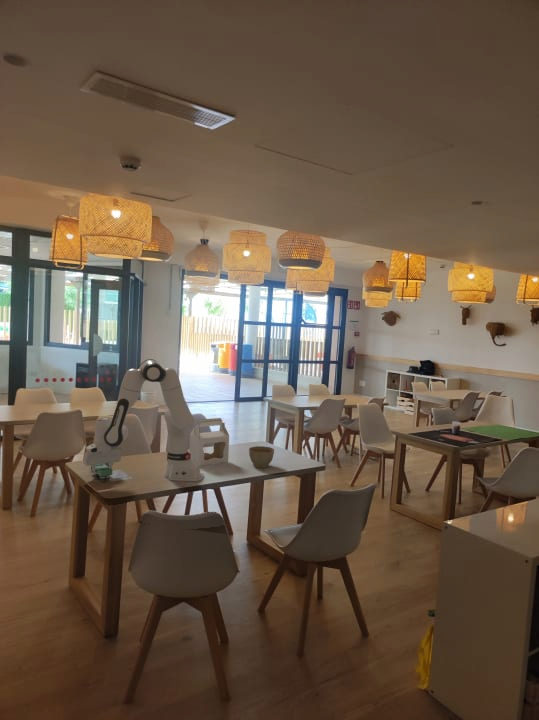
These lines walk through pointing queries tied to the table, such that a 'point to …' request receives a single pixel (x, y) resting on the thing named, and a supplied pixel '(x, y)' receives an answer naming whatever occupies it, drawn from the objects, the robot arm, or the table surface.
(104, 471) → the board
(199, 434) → the gable box
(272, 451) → the planter bowl
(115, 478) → the chassis
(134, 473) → the table surface
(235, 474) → the table surface
